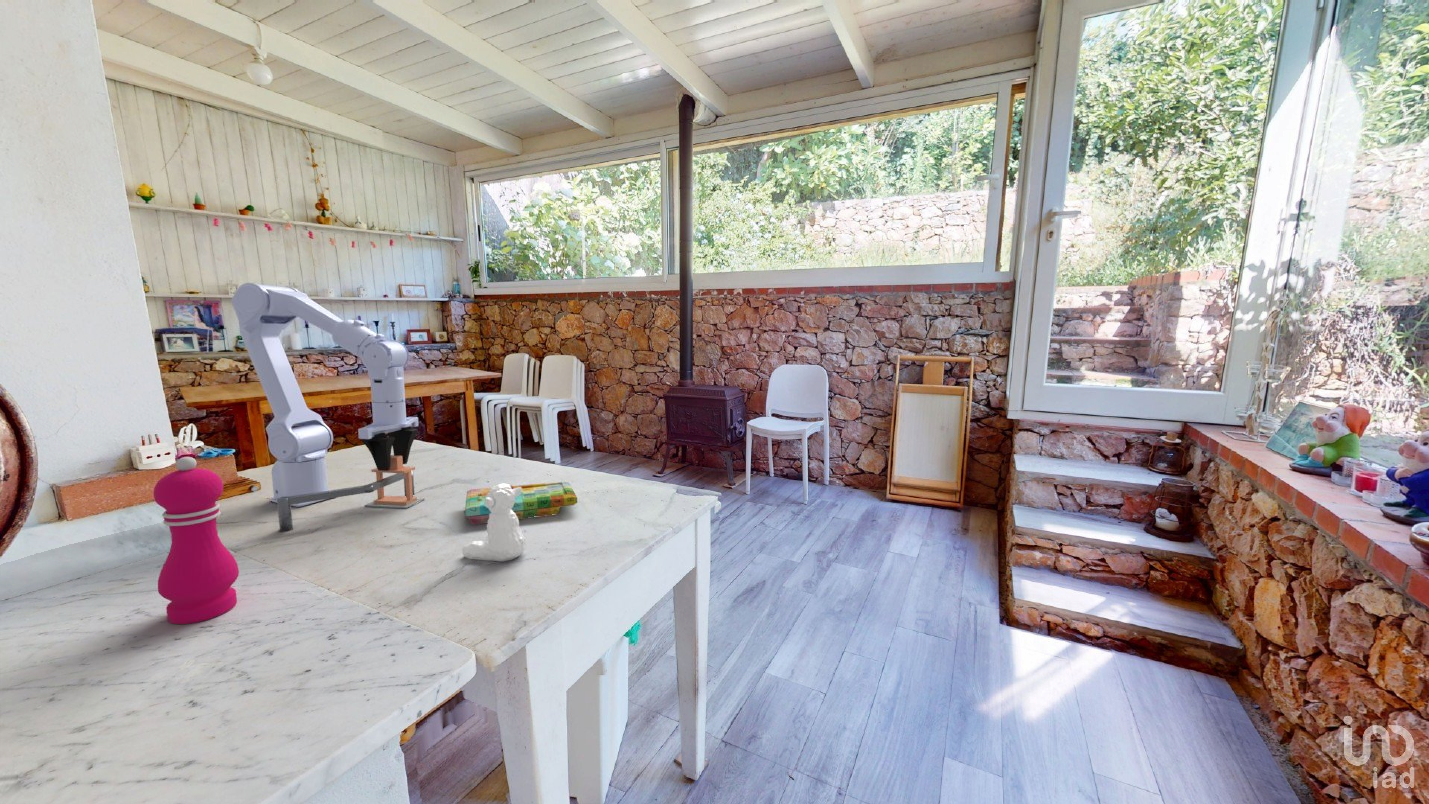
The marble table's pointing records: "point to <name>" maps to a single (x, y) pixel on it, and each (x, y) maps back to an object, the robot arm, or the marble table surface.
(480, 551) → the sitting furry creature
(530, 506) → the puzzle game
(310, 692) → the marble table surface
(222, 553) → the pepper mill
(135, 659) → the marble table surface
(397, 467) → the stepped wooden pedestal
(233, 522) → the marble table surface
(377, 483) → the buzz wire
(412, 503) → the pad
